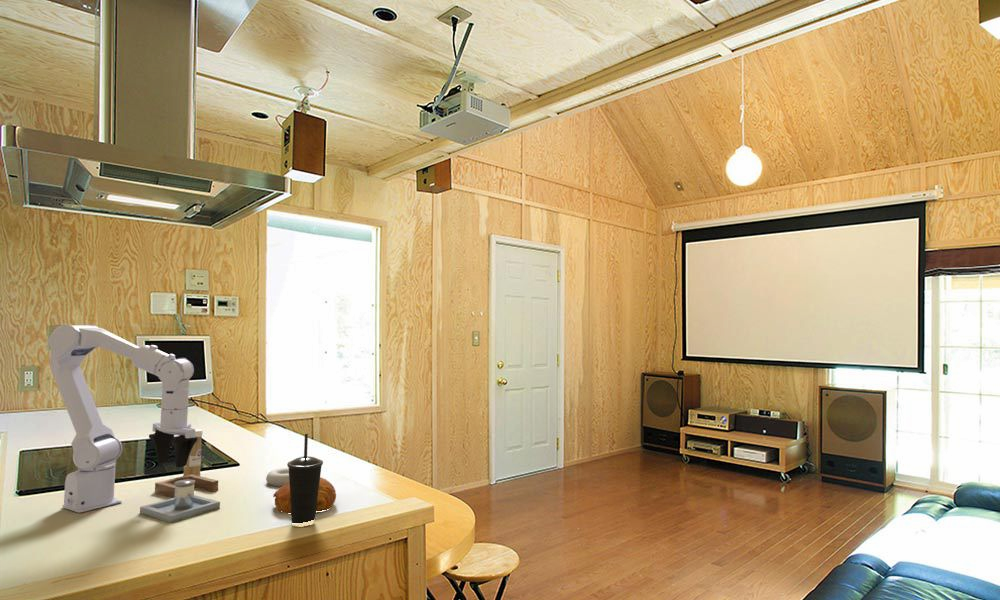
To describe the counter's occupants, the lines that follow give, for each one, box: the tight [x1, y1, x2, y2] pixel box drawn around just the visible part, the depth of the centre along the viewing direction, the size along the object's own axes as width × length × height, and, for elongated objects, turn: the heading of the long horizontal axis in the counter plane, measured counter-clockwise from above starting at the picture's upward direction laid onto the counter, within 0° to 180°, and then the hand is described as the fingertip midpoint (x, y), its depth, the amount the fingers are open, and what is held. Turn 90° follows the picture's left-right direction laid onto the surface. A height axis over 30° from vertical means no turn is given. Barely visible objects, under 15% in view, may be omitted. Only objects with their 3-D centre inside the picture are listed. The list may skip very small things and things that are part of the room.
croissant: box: [273, 476, 337, 514], centre depth 141 cm, size 14×16×8 cm
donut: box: [265, 467, 289, 487], centre depth 161 cm, size 10×4×10 cm
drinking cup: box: [286, 433, 324, 524], centre depth 129 cm, size 8×8×20 cm
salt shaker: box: [174, 479, 195, 510], centre depth 136 cm, size 4×4×6 cm
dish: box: [139, 494, 221, 524], centre depth 136 cm, size 12×12×2 cm
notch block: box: [154, 474, 219, 498], centre depth 151 cm, size 10×12×2 cm
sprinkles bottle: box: [182, 428, 203, 476], centre depth 165 cm, size 5×5×13 cm
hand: (171, 464), depth 140 cm, fingers open, 7 cm apart
